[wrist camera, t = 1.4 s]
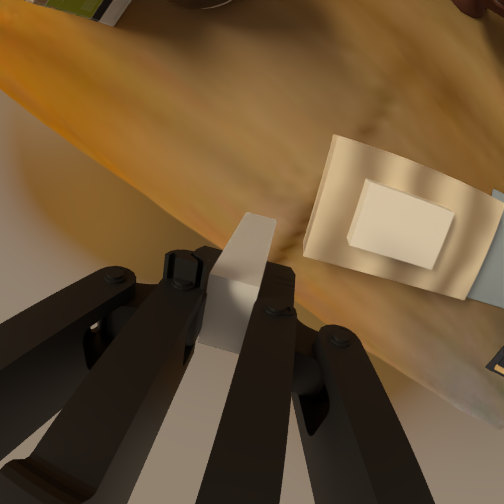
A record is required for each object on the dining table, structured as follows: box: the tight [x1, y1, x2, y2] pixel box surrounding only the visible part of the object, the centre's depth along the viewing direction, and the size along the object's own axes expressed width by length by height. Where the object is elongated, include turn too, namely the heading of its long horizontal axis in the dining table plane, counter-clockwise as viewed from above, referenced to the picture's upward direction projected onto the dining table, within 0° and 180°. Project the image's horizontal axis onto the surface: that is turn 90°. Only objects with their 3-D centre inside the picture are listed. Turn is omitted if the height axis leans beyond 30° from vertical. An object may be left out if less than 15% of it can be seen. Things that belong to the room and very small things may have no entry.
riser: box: [303, 134, 504, 300], centre depth 29 cm, size 20×12×4 cm, turn 78°
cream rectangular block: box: [347, 178, 454, 270], centre depth 27 cm, size 9×6×2 cm, turn 78°
